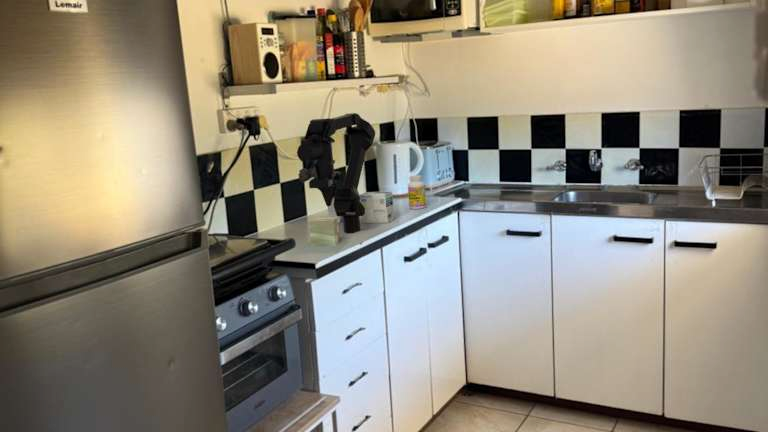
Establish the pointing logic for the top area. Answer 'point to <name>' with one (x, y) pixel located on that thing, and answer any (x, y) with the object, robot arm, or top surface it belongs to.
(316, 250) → the slate mat
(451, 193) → the top surface
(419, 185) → the supplement bottle
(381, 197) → the light bulb box
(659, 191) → the top surface
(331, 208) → the medicine box
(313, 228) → the tile block
